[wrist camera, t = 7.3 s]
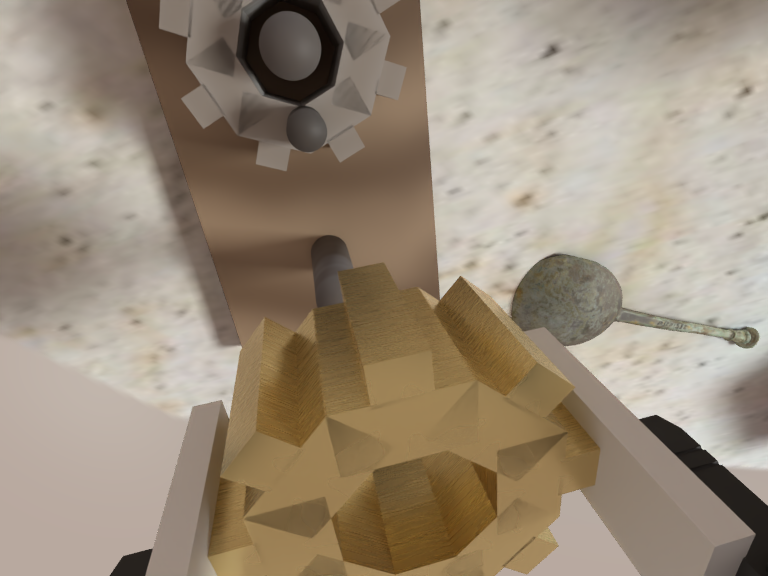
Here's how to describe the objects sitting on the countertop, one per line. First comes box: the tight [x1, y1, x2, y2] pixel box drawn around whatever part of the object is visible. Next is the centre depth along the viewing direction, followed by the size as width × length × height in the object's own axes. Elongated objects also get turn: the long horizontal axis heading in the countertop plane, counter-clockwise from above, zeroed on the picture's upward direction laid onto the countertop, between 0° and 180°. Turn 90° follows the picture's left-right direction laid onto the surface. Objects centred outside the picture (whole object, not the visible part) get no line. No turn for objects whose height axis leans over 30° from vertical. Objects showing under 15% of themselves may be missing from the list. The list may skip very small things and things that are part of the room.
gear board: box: [126, 0, 440, 348], centre depth 19 cm, size 21×12×8 cm, turn 7°
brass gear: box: [208, 262, 600, 576], centre depth 11 cm, size 9×9×4 cm
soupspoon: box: [512, 255, 760, 348], centre depth 31 cm, size 22×3×7 cm
